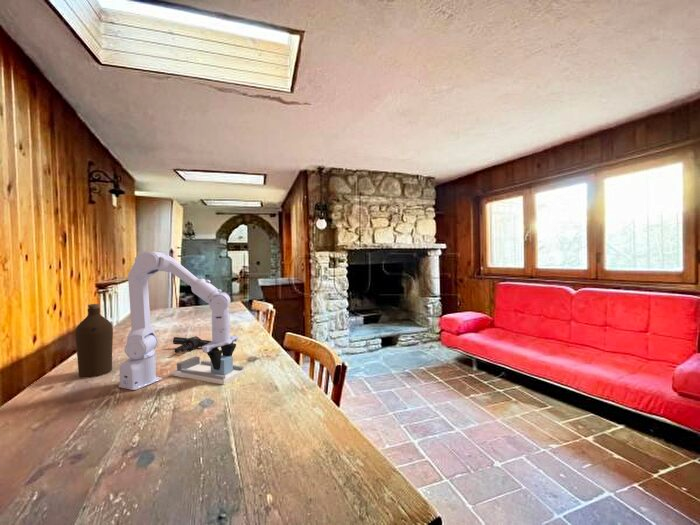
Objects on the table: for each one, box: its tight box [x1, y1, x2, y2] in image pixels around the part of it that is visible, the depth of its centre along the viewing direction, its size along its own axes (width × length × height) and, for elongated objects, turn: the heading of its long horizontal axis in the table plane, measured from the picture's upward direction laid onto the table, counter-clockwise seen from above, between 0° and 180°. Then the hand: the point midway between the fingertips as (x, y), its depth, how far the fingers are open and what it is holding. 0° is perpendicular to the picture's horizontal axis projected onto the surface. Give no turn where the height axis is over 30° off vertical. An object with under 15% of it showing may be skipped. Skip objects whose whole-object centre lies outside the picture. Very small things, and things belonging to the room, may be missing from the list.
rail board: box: [172, 355, 246, 385], centre depth 110 cm, size 10×23×4 cm, turn 69°
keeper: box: [210, 354, 234, 375], centre depth 108 cm, size 4×6×5 cm, turn 68°
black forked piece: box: [172, 336, 212, 354], centre depth 138 cm, size 5×20×15 cm
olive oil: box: [74, 303, 114, 378], centre depth 113 cm, size 11×11×25 cm
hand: (221, 366), depth 108 cm, fingers closed on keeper, 4 cm apart
